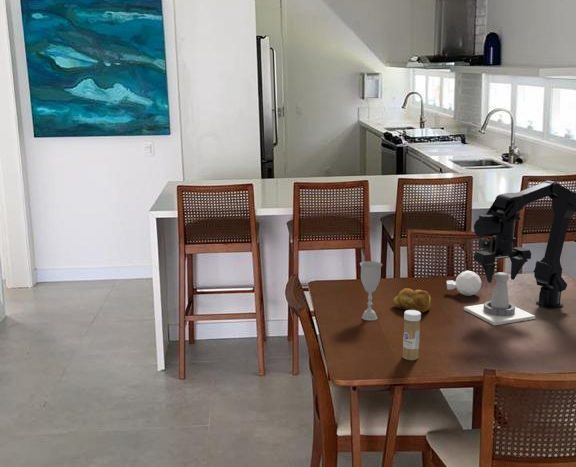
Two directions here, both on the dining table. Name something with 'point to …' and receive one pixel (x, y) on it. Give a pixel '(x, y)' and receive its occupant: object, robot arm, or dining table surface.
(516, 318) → the ring holder
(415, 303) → the bread roll
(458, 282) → the perfume bottle
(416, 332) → the sprinkles bottle
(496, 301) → the salt shaker
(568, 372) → the dining table surface
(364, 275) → the chalice
